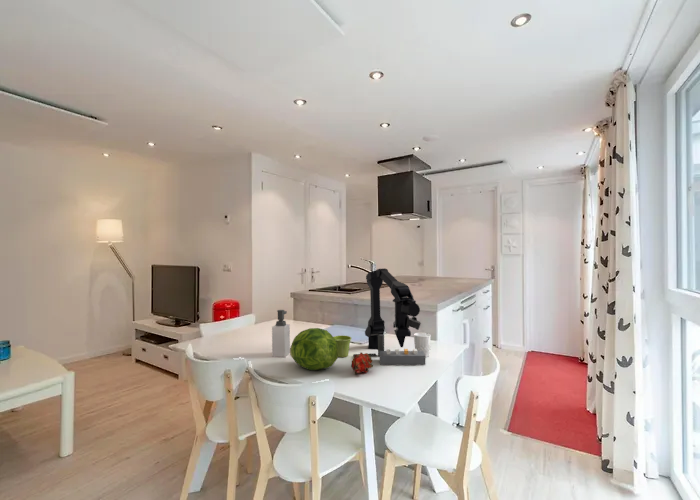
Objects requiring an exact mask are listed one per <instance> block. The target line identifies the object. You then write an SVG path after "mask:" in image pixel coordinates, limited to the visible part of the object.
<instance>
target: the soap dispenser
mask: <svg viewBox="0 0 700 500" xmlns="http://www.w3.org/2000/svg"><path fill="white" fill-rule="evenodd" d="M276 312H277V321H276V323H275V324H274V325H273V326H271V342H272V343H271V344H272V345H271V347H272V349H271V350H272V351H271V353H272V355H271V357H272V358H274V357H275V358H286V357H287V356H288V355H290V354H289V353H290V347H291V335H290V333H291V332H290V331H291V330H290V329H291V325H290V324H288V323H287V322H286V320H285V315H286V314H287V310H285V309H277V310H276Z"/></svg>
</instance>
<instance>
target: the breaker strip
mask: <svg viewBox="0 0 700 500" xmlns="http://www.w3.org/2000/svg"><path fill="white" fill-rule="evenodd" d="M379 352H380V357H379V365H383V366H385V365H386V366H387V365H388V366H392V365H393V366H404V365H405V366H426V357H425V354H424V352H423V351H417V349H415V348H413V349H412V350H409V349H408V348H404V349H403V350H400V349H399V348H395V350H391V349H390V348H386V350H384V351H379Z"/></svg>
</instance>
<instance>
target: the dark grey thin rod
mask: <svg viewBox="0 0 700 500" xmlns="http://www.w3.org/2000/svg"><path fill="white" fill-rule="evenodd" d="M352 355H353V356H352V357H353V358H354V357H355V355H360V353H355V354H354V353H353V354H352ZM368 355H369V356H371V357H376V356H377V353H376V352H375V353H368Z"/></svg>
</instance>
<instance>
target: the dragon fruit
mask: <svg viewBox="0 0 700 500" xmlns="http://www.w3.org/2000/svg"><path fill="white" fill-rule="evenodd" d="M359 354H360V355H355V357H353V358H352V359H351V365H350V367H351V368H352V370H353V371H355V372H354V374H355V375H357V374H362V373H364V374H367V373H368V372H369V370H370V369H372V368H374V364H372V363H373V359H372V356H369V355H368V354H369V353H367V352H365V353H363V352H359Z"/></svg>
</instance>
